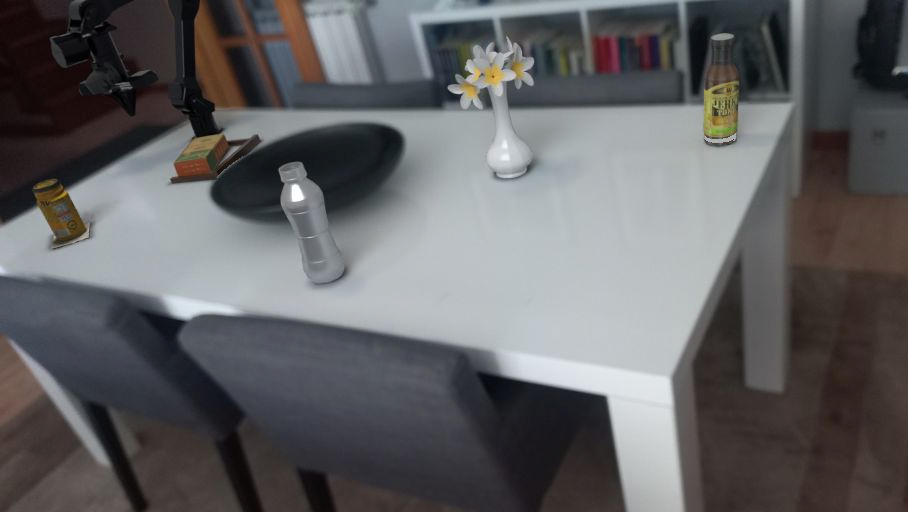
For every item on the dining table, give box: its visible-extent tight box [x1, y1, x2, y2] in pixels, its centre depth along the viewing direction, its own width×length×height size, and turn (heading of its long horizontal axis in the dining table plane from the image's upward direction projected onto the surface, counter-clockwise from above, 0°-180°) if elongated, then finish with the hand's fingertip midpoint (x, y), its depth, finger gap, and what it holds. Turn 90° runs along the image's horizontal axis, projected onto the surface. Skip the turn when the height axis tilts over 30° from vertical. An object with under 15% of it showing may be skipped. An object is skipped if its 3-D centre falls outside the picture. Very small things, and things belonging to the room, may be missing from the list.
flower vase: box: [447, 35, 535, 179], centre depth 137 cm, size 13×18×25 cm
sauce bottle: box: [702, 32, 740, 147], centre depth 134 cm, size 6×6×20 cm
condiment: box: [31, 178, 91, 249], centre depth 151 cm, size 7×8×12 cm
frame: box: [169, 133, 261, 184], centre depth 179 cm, size 22×13×2 cm, turn 171°
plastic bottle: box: [278, 161, 346, 284], centre depth 115 cm, size 6×7×20 cm
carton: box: [172, 133, 230, 176], centre depth 179 cm, size 8×16×4 cm, turn 2°
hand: (133, 115), depth 183 cm, fingers closed
